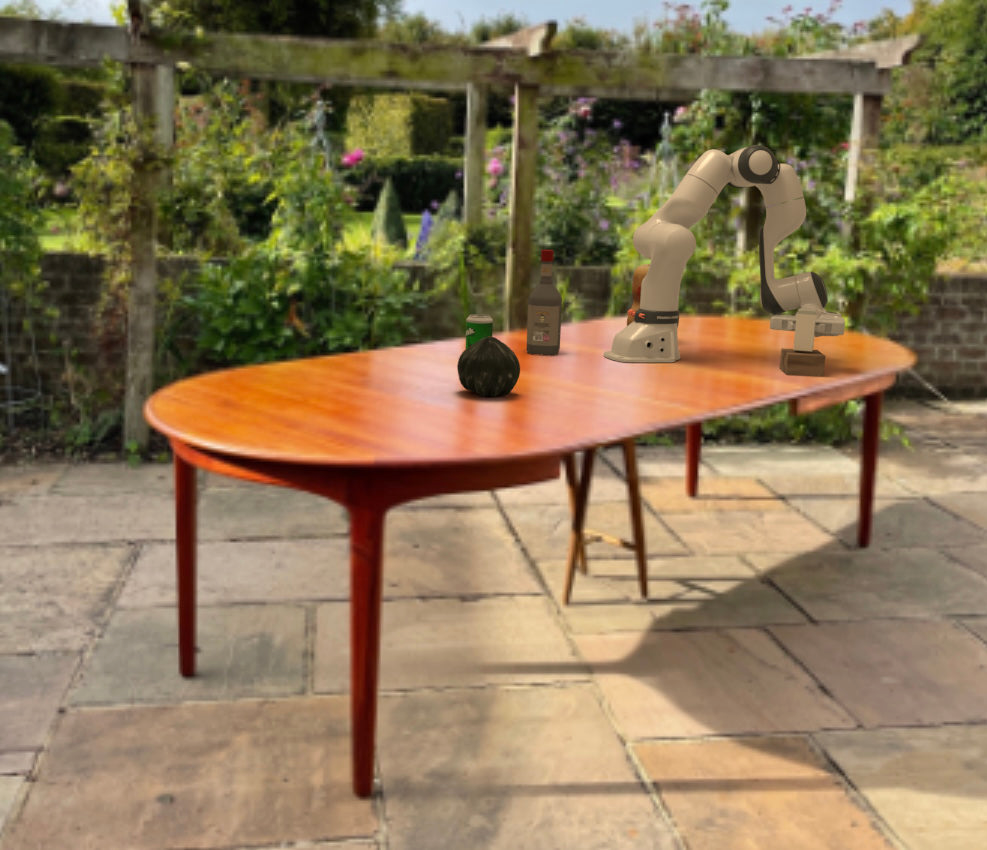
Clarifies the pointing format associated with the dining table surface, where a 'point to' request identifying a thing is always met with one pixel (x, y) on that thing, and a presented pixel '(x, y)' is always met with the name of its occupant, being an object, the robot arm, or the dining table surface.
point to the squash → (488, 368)
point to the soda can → (478, 328)
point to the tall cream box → (805, 329)
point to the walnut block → (802, 362)
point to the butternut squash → (637, 288)
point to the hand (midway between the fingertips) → (805, 328)
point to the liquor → (544, 312)
